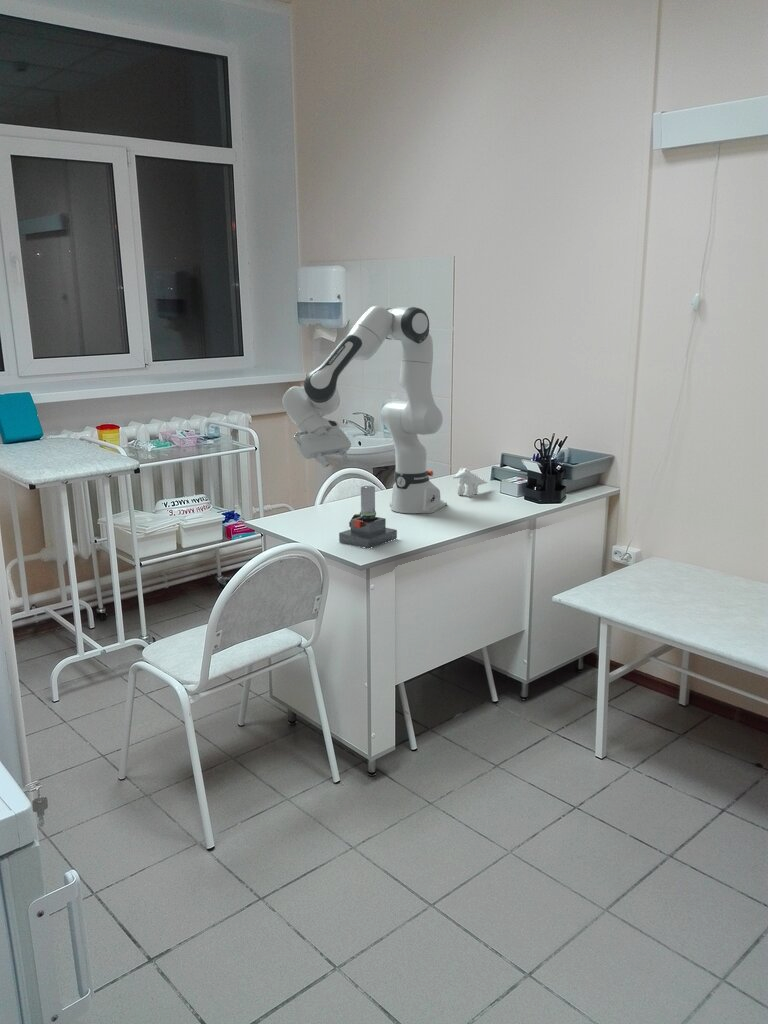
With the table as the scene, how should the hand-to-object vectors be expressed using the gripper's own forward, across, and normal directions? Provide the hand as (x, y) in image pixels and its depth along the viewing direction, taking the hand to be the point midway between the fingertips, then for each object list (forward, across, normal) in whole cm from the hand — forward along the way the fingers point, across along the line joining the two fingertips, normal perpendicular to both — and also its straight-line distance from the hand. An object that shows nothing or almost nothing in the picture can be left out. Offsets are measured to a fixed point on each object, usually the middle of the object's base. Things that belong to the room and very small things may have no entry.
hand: (337, 463), depth 260 cm
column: (+23, 0, +5) cm, 24 cm away
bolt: (+15, +14, +18) cm, 27 cm away
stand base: (+25, 0, +7) cm, 26 cm away
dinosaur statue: (+18, +75, +14) cm, 79 cm away
